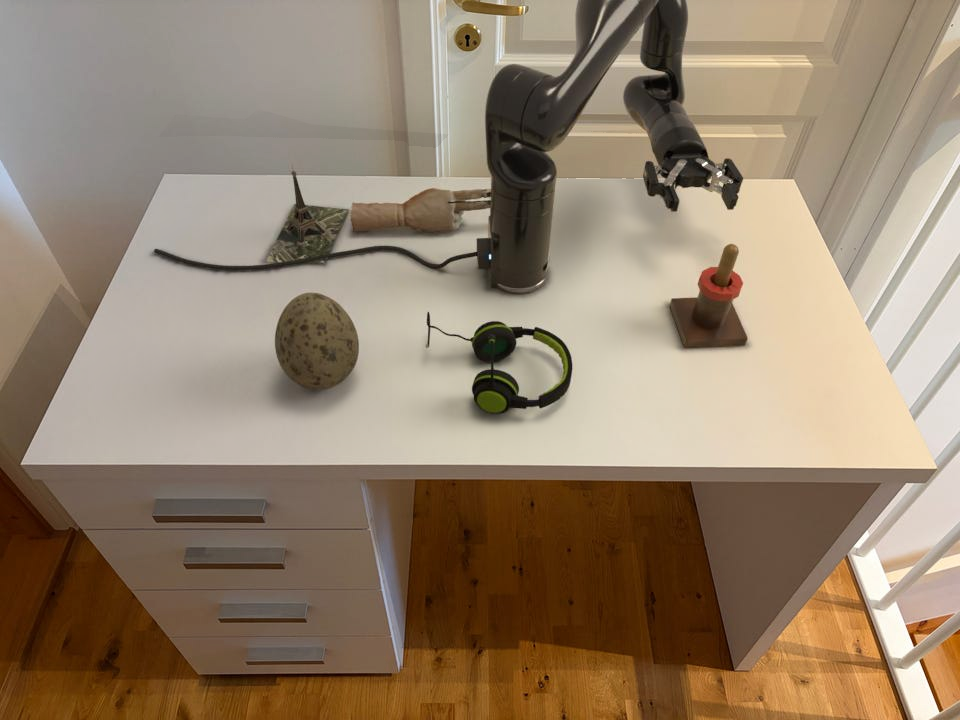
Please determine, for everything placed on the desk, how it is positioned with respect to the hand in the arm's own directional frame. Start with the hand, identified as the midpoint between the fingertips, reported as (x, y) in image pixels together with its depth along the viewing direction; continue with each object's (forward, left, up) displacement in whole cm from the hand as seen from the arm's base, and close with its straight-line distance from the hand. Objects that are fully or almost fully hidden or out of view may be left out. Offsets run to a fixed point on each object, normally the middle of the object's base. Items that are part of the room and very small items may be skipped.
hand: (704, 205), depth 107 cm
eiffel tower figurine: (-61, +13, -13) cm, 64 cm away
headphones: (-32, -20, -13) cm, 40 cm away
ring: (0, -12, -4) cm, 13 cm away
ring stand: (0, -12, -13) cm, 18 cm away
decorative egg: (-56, -19, -13) cm, 61 cm away
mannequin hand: (-41, +14, -13) cm, 45 cm away
